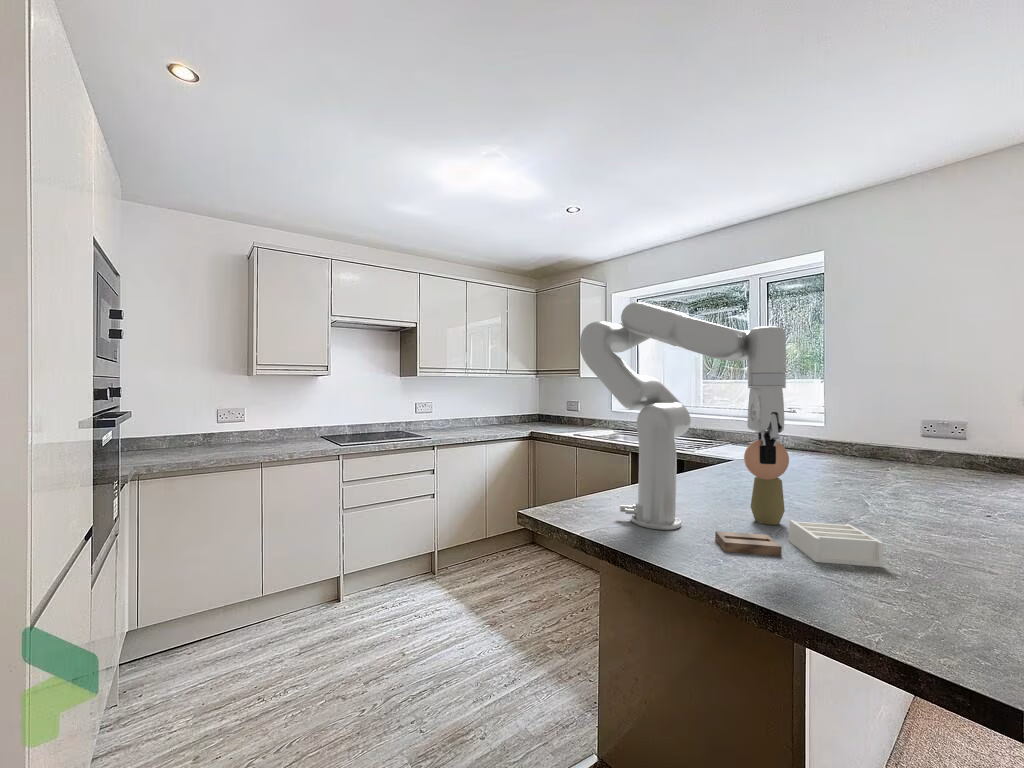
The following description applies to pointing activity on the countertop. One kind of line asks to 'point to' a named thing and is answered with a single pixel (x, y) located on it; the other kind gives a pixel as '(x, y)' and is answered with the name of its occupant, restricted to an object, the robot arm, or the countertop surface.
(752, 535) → the stand
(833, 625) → the countertop surface
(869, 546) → the rack
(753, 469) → the peach round disc
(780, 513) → the squeeze bottle
